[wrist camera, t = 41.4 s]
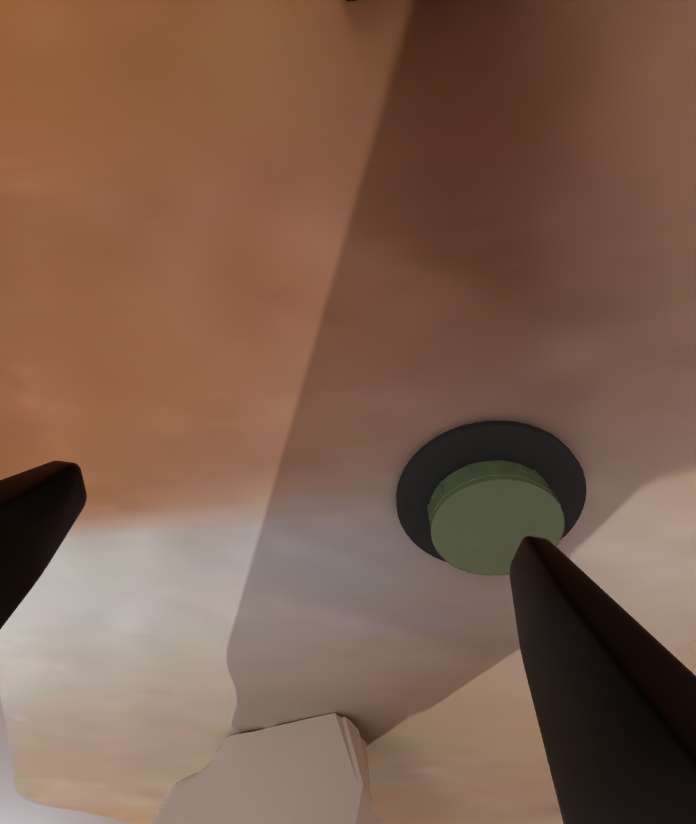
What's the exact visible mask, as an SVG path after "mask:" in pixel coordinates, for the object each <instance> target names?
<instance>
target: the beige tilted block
mask: <svg viewBox="0 0 696 824" xmlns="http://www.w3.org/2000/svg"><path fill="white" fill-rule="evenodd" d="M151 824H383V823H382V821H381V819H380V817H379V815H378V813H377V811H376V809H375V807H374V805H373V803H372V797H371V792H370V781H369V770H368V759H367V747H366V741H364V740H363V739H362V738H361V737H360V732H359V730H358V729H357V728H356V726H355V725H354V724H353V723H352V722H351V721H350V720H349V719H347V718H346V717H340V716H339V715H337V714H336V713H333V714H327V715H322V716H318V717H313V718H309V719H304V720H300V721H296V722H292V723H287V724H283V725H278V726H274V727H270V728H266V729H262V730H258V731H253V732H247V733H241V734H236V735H232V736H228V737H226V738H225V739H224V740H223V742H222V744H221V746H220V748H219V749H218V751H217V752H216V754H215V755H214V757H213V759H212V760H211V762H210V763H209V764H208V765H207V766H206V767H205V768H204V769H202V770H201V771H200V772H198V773H195V774H193V775H190V776H188V777H186V778H184V779H182V780H180V781H179V782H177V783H176V784H175V785H174V786H173V787H172V789H171V791H170V792H169V794H168V796H167V797H166V799H165V801H164V802H163V804H162V806H161V807H160V809H159V811H158V812H157V814H156V816H155V817H154V819H153V821H152V823H151Z"/></svg>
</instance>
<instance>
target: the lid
mask: <svg viewBox="0 0 696 824" xmlns="http://www.w3.org/2000/svg"><path fill="white" fill-rule="evenodd" d="M560 506H561V504H560V502H559V500H558V499H557V497H556V495H555V493H554V491H553V490H551V489H550V487H549V485H548V484H547V482H546V481H545V480H544V479H543V478H542V477H541V476H540V475H539V474H538V473H537V471H536V470H535V469H534V470H532V469H530V468H528V467H526V466H524V465H521V464H518V463H514V462H509V461H505V460H502V461H500V460H492V461H483V462H477V463H473V464H470V465H469V464H468V465H467V466H465V467H462V468H460V469H458V470H456V471H454V472H453V473H451V474H450V475H449V476H447V477H446V478H445V479H444V480H443V481H440V484H439V485H438V486H437V487H436V489H435V490H434V492H433V494H432V496H431V498H430V502H429V505H428V504H427V509H428V517H429V524H430V532H431V538H432V542H433V545H434V547H435V549H436V550H437V552H438V553H439V554H440V555H441V557H442V558H443V559H444V560H446V561H447V562H448V563H450V564H451V565H453V566H454V567H456V568H459V569H461V570H464V571H466V572H470V573H474V574H480V575H504V574H510V565H511V562H512V560H513V558H514V556H515V554H516V551H517V549H518V547H519V545H520V543H521V541H522V539H523V538H524V537H526V536H534V537H540V538H545V539H548V540H549V541H550V542H551V543H553V544H554V545H555V546H557V545H558V543H559V542H560V540H561V538H562V535H563V532H564V525H565V522H564V515H563V511H562V509H561V507H560Z"/></svg>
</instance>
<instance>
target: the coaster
mask: <svg viewBox="0 0 696 824" xmlns="http://www.w3.org/2000/svg"><path fill="white" fill-rule="evenodd" d="M492 460H500V461H502V460H505V461H509V462H514V463H518V464H521V465H524V466H526V467H528V468H530V469H532V470H534V469H535V470H536V471H537V473H538V474H539V475H540V476H541V477H542V478H543V479H544V480H545V481H546V482H547V484H548V485H549V487H550V489H551V490H553V491H554V493H555V495H556V497H557V499H558V500H559V502H560V504H561V506H560V507H561V509H562V511H563V515H564V522H565V525H564V532H563V535H562V538H563V537H564V536H565V535H566V534H567V533H568V532H569V531H570V530H571V528H572V527H573V526H574V525H575V523H576V521H577V520H578V518H579V516H580V514H581V512H582V509H583V506H584V502H585V497H586V483H585V477H584V474H583V470H582V468H581V466H580V464H579V462H578V460H577V459H576V458H575V456H574V455H573V454H572V452H571V451H570V450H569V448H568V447H567V446H566V445H564V444H563V443H562V442H561V441H560V440H559V439H557V438H556V437H554V436H553V435H551V434H550V433H548V432H546V431H544V430H541V429H539V428H536V427H533V426H530V425H527V424H522V423H518V422H510V421H486V422H478V423H473V424H469V425H464V426H461V427H458V428H455V429H453V430H450V431H448V432H446V433H444V434H442V435H440V436H438V437H436V438H435V439H433V440H432V441H430V442H429V443H427V444H426V445H425V446H424V447H422V448H421V449H420V450H419V451H418V452H417V453H416V454H415V455H414V456H413V457H412V459H411V460H410V461H409V463H408V464H407V466H406V467H405V469H404V471H403V473H402V475H401V477H400V480H399V483H398V487H397V494H396V498H397V512H398V517H399V520H400V522H401V525H402V527H403V528H404V530H405V532H406V533H407V535H408V536H409V537H410V539H411V540H412V541H413V542H414V543H415V544H416V545H417V546H418V547H420V548H421V549H422V550H424V551H425V552H427V553H428V554H430V555H432V556H434V557H436V558H438V559H440V560H443V561H446V560H444V559H443V558H442V557H441V555H440V554H439V553H438V552H437V550H436V549H435V547H434V545H433V542H432V538H431V532H430V524H429V517H428V509H427V504H428V505H429V502H430V498H431V496H432V494H433V492H434V490H435V489H436V487H437V486H438V485H439V484H440V481H443V480H444V479H445V478H446V477H447V476H449V475H450V474H451V473H453V472H454V471H456V470H458V469H460V468H462V467H465V466H467V465H468V464H469V465H470V464H473V463H477V462H483V461H492ZM562 538H561V539H562ZM446 562H447V561H446Z"/></svg>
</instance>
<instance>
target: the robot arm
mask: <svg viewBox="0 0 696 824" xmlns="http://www.w3.org/2000/svg"><path fill="white" fill-rule="evenodd" d="M346 1H355V0H346ZM86 498H87V495H86V490H85V485H84V481H83V477H82V473H81V469H80V467H79V466H78V465H77V464H75V463H70V462H64V461H53V462H50V463H47V464H44V465H41V466H39V467H36V468H33V469H30V470H28V471H25V472H22V473H19V474H16V475H14V476H11V477H8V478H5V479H3V480H0V629H1V628H2V626H3V625H4V624H5V622H6V621H7V620H8V618H9V617H10V616H11V615H12V613H13V612H14V611H15V609H16V608H17V607H18V605H19V604H20V603H21V601H22V600H23V599H24V597H25V596H26V595H27V594H28V592H29V591H30V590H31V588H32V587H33V586H34V584H35V583H36V581H37V580H38V579H39V577H40V576H41V575H42V573H43V571H44V570H45V568H46V567H47V565H48V564H49V562H50V561H51V559H52V558H53V556H54V554H55V553H56V551H57V550H58V548H59V546H60V545H61V543H62V542H63V540H64V538H65V537H66V535H67V533H68V532H69V530H70V529H71V527H72V525H73V524H74V522H75V521H76V519H77V517H78V516H79V514H80V513H81V511H82V509H83V508H84V506H85V503H86ZM510 581H511V588H512V595H513V602H514V609H515V616H516V622H517V629H518V636H519V643H520V649H521V654H522V658H523V663H524V667H525V671H526V675H527V679H528V683H529V687H530V691H531V695H532V699H533V703H534V707H535V711H536V715H537V719H538V723H539V727H540V731H541V735H542V739H543V743H544V747H545V751H546V755H547V759H548V763H549V767H550V771H551V775H552V779H553V783H554V787H555V791H556V795H557V799H558V803H559V807H560V811H561V815H562V819H563V823H564V824H696V676H695V675H694V674H693V673H692V672H691V671H690V670H689V669H688V668H687V667H685V666H684V665H683V664H682V663H681V662H680V661H679V660H678V659H677V658H676V657H675V656H674V655H672V654H671V653H670V652H669V651H668V650H667V649H666V648H665V647H664V646H663V645H662V644H661V643H659V642H658V641H657V640H656V639H655V638H654V637H653V636H652V635H651V634H650V633H649V632H648V631H647V630H645V629H644V628H643V627H642V626H641V625H640V624H639V623H638V622H637V621H636V620H635V619H634V618H632V617H631V616H630V615H629V614H628V613H627V612H626V611H625V610H624V609H623V608H622V607H621V606H620V605H618V604H617V603H616V602H615V601H614V600H613V599H612V598H611V597H610V596H609V595H608V594H607V593H605V592H604V591H603V590H602V589H601V588H600V587H599V586H598V585H597V584H596V583H595V582H594V581H593V580H591V579H590V578H589V577H588V576H587V575H586V574H585V573H584V572H583V571H582V570H581V569H580V568H578V567H577V566H576V565H575V564H574V563H573V562H572V561H571V560H570V559H569V558H568V557H567V556H565V555H564V554H563V553H562V552H561V551H560V550H559V549H558V548H557V547H556V546H555V545H554V544H553V543H551V542H550V541H549V540H548V539H545V538H540V537H534V536H526V537H524V538H523V539H522V541H521V543H520V545H519V547H518V549H517V551H516V554H515V556H514V558H513V560H512V562H511V565H510Z"/></svg>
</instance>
